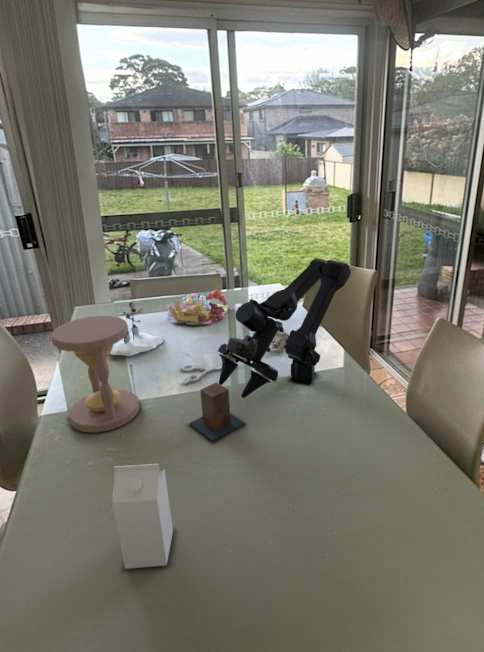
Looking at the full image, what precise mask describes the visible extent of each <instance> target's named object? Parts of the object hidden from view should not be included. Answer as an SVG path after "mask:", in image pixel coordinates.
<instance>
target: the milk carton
mask: <svg viewBox="0 0 484 652" xmlns="http://www.w3.org/2000/svg"><path fill="white" fill-rule="evenodd" d="M113 469H114V478H113V485H112V486H113V487H112V497H111V505H112V508H113V514H114V520H115V525H116V530H117V534H118V539H119V545H120V550H121V555H122V560H123V565H124V569H140V568H152V567H165V566H167V565H168V560H169V554H170V549H171V545H172V538H173V535H174V534H173V533H174V529H173V528H174V527H173V520H172V513H171V508H170V507H171V506H170V499H169V491H168V485H167V483H168V482H167V477H166V471H165V468H160V464H159V463H146V464H132V465H131V464H130V465H115V466H114V467H113Z"/></svg>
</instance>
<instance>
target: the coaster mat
mask: <svg viewBox="0 0 484 652" xmlns="http://www.w3.org/2000/svg"><path fill="white" fill-rule="evenodd" d="M230 422H231V423H229V424H228V425H226V426H224V427H222V428H221V429H219V430H217V431H214V430H212V429H211V428H209V427H208V426H207V425H205V424H204V423H203V416H201V417H199V418H198V419H196V420H195V419H194V420H193V421H191V422H190V423H189V427H191V428H193V429H194V430H195V431H196V432H198V433H199V434H201V435H202V436H203V437H205V438H206V439H207V440H209V441H210V442H211V443H215V442H217V441H219V440H221V439H222V438H224V437H226V436H228V435H229V434H231V433H233V432H234V431H236V430H238V429H240V428H242V427H243V426H245V422H244V421H242V420H241V419H239V418H237V417H236V416H235V415H233V414H231V413H230Z"/></svg>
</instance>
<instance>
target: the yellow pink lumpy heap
mask: <svg viewBox="0 0 484 652" xmlns="http://www.w3.org/2000/svg"><path fill="white" fill-rule="evenodd" d="M212 299H215V300H218V301H219V302H221V303H222V304H219V303H214V302H213V301H211V300H212ZM181 301H182V303H180V302H179V301H174V302H173V303H172V302H170V304H169V303H167V311H168V313H167V318H168V319H169V321H170V323H173V324H185V325H190V326H194V325H195V326H198V325H199V326H200V325H209V324H211V323H217V322H218V320H220V321H222V320H223V319H224V318H225V314H227V313H228V310H229V306H228V302H227V300H226V297H225V296H224V295H222V291H220V290H219V289H213V291H212V292H209V293H207V295H206V296H205V295H204V294H203V295H202V294H201V295H198V293H196V292H193V293H188V294H187V296H184V297H182V298H181Z"/></svg>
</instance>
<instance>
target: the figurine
mask: <svg viewBox="0 0 484 652" xmlns="http://www.w3.org/2000/svg"><path fill="white" fill-rule="evenodd" d="M128 307H129V308H130V312H127V311H122V313H123V314H121V316H125V319H128V320H131V322H132V324H131V325H132V327H131V328H130V330H128V333H127V335H126V336H125V337H124V338H123V339H122V340H120V341H119V342H117V343H115V344H113V348H112V351H111V353H110V355H112V356H127V357H128V356H134V355H137V354H139V353H145V352H149V351H150V350H152V349H156V348H157V347H158V346H159V345H161V344H162V343H163V342H164V339H162V338H161V337H160V336H159V335H152V334H149V333H145V332H140V329H139V327H138V326H137V325H136V324H135V323H141V320H140V319H138V320H135V319H134V316H135V315H137V314H141V313H142V311H143V309H144V308H141V309H139V310H137V309H136V304H134V302H133V301H129V302H128ZM130 332H131V334H130Z"/></svg>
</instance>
